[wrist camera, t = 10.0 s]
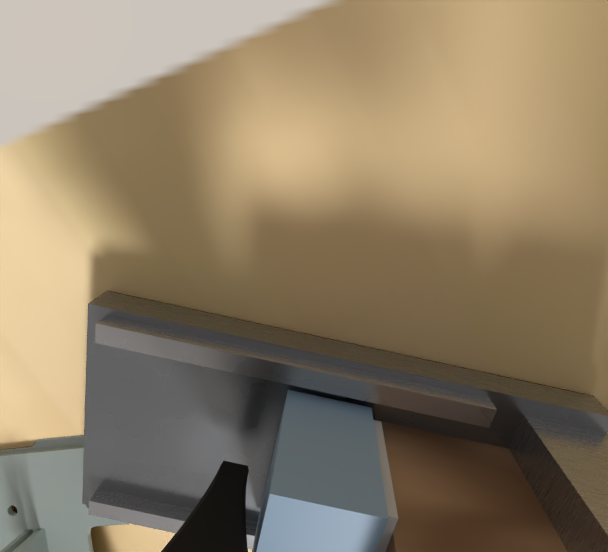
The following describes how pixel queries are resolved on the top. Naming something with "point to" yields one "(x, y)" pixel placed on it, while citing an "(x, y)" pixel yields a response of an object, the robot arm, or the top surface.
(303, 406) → the block
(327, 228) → the top surface
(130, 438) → the vise
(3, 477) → the metal bracket
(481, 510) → the block
